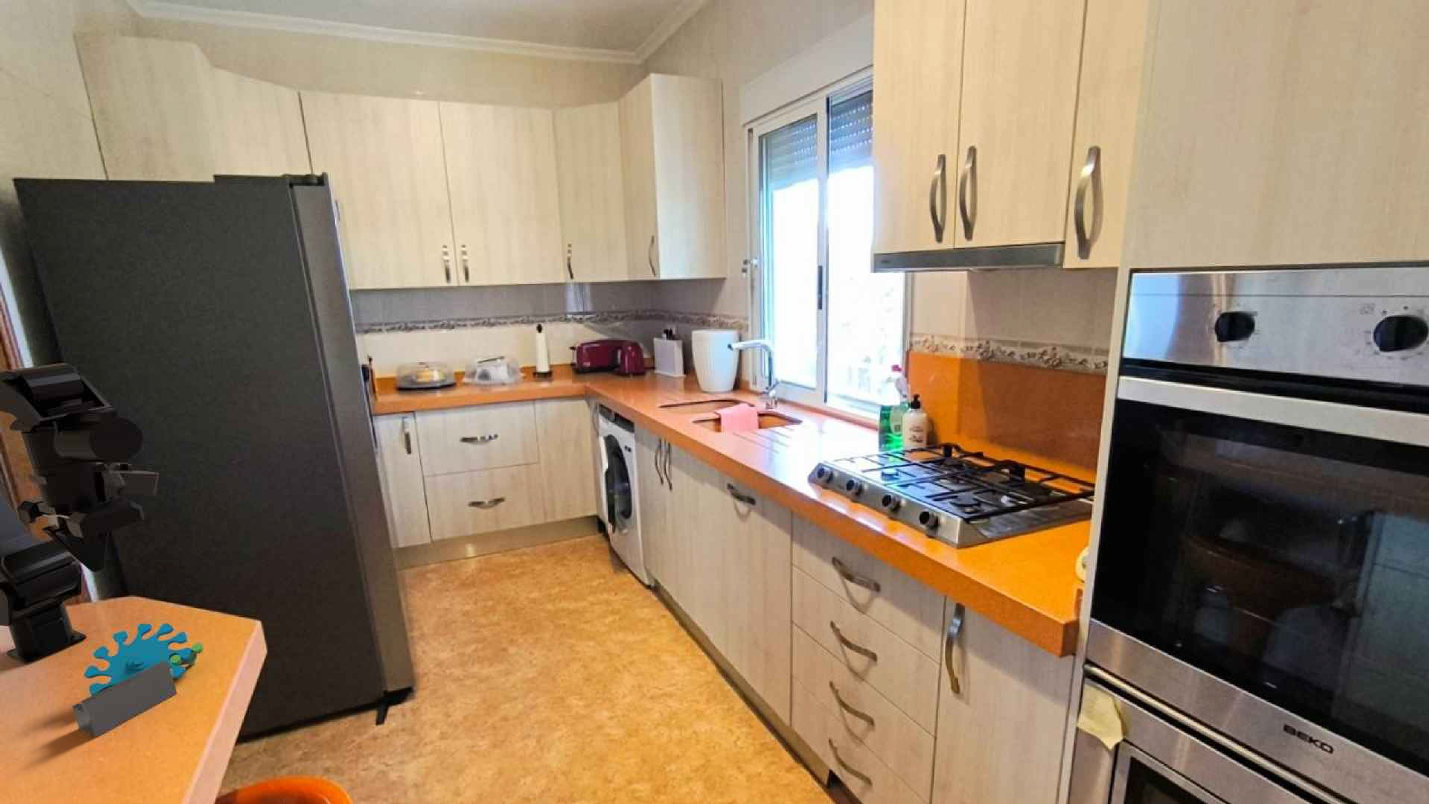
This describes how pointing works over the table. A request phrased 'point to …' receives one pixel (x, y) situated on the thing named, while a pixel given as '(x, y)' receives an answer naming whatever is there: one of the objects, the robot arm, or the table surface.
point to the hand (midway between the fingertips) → (97, 570)
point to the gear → (142, 656)
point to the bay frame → (125, 700)
